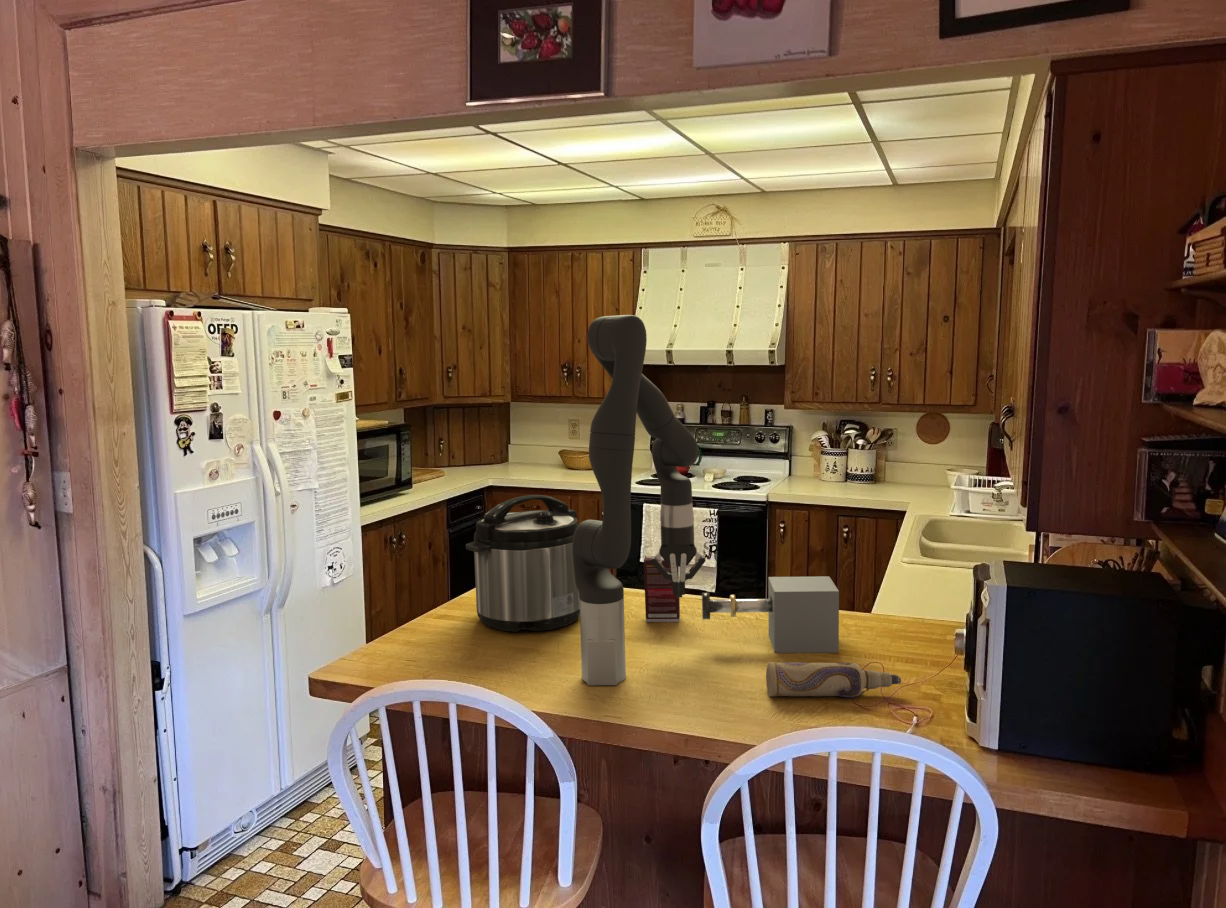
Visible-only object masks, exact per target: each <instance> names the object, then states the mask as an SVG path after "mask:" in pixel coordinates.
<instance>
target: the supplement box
mask: <svg viewBox="0 0 1226 908" xmlns="http://www.w3.org/2000/svg"><path fill="white" fill-rule="evenodd" d="M652 556H653V555H649V556H648V555H645V556H644V559H643V579H644V606H645V611H644V612H645V623H679V622H680V619H681V618H680V617H681V611H680V610H681V609H680V608H681V605H680V604H681V603H680V598H676V595H673V583H672V581H671V580H667V579H665V578H664V577H663V576H662V574H661V573H660V572H659V571H658V570H657V569H656V567H655V566H654V565H653V564H652V563H651V557H652ZM661 559H662V565H663V566H664V567H665V568H666V569H667V571H668V572H669V573H672V572H671V566H669V565H668V564H667V563H666V562H665V560H664V559H663V558H662V557H661ZM677 575H678V580H680V578H679V577H680V570H679V566H677Z"/></svg>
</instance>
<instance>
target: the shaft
mask: <svg viewBox="0 0 1226 908" xmlns="http://www.w3.org/2000/svg"><path fill="white" fill-rule="evenodd" d="M710 597H711V596H710V592H701V609H702V610H701V612H702V615H701V616H702V620H711V614H712V613H717V614H719V613H722V614H723V613H725V614H726V613H728V614H730V618H736V615H737V613H769V612H772V599H768V598H736V594H730V595H729V598H725V599H724V598H721V599H719V598H718V599H717V598H715V599H714V598H713V599H710Z"/></svg>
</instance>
